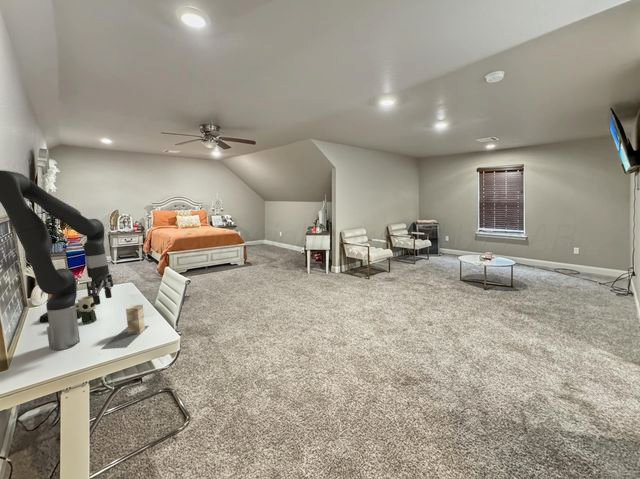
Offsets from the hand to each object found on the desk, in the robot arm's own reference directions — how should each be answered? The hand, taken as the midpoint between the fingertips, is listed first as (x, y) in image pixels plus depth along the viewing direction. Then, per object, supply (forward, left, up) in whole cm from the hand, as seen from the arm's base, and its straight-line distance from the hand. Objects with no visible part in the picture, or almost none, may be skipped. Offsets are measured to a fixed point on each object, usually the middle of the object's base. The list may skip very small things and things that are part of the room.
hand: (103, 301), depth 130 cm
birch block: (+10, +6, -17) cm, 21 cm away
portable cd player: (-39, +36, -19) cm, 56 cm away
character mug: (-21, +24, -18) cm, 37 cm away
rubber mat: (+8, +1, -18) cm, 20 cm away
